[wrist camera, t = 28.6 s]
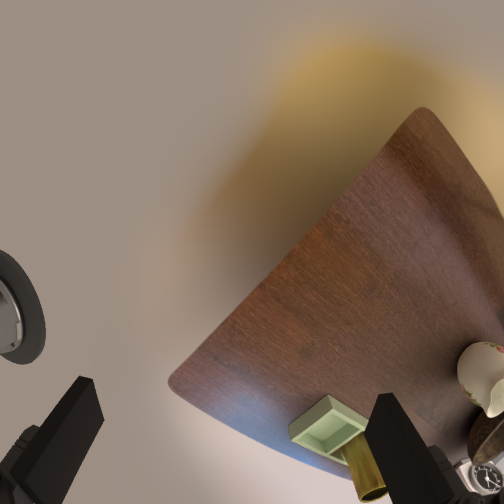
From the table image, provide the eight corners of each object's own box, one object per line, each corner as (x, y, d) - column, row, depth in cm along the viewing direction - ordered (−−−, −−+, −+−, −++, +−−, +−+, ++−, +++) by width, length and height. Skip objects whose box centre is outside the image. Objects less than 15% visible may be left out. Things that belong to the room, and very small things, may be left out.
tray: (287, 425, 44) (290, 440, 40) (327, 394, 42) (333, 408, 39) (369, 464, 48) (374, 475, 44) (402, 439, 46) (408, 450, 43)
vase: (338, 432, 44) (358, 492, 30) (370, 423, 44) (396, 480, 30) (337, 451, 45) (355, 507, 31) (367, 443, 45) (390, 496, 31)
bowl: (443, 433, 47) (462, 459, 37) (507, 363, 44) (532, 384, 34) (468, 449, 50) (483, 470, 41) (520, 393, 47) (539, 410, 37)
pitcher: (473, 390, 45) (506, 425, 31) (432, 370, 42) (471, 415, 29) (502, 348, 43) (540, 378, 29) (467, 319, 40) (515, 354, 27)
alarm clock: (488, 449, 52) (515, 486, 32) (473, 467, 54) (497, 504, 34) (456, 458, 51) (485, 503, 31) (440, 477, 53) (464, 521, 33)
